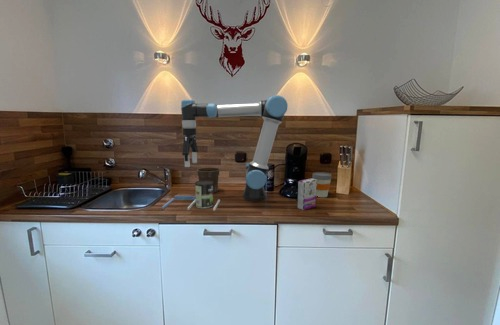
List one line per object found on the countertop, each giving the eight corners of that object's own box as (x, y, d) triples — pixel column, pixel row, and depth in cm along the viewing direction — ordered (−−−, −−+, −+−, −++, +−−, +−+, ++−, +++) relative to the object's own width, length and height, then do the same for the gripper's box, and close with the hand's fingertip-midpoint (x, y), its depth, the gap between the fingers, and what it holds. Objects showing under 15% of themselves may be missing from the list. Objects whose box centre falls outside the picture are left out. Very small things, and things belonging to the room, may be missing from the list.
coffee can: (215, 203, 143) (215, 180, 141) (209, 209, 133) (209, 185, 131) (199, 202, 145) (199, 179, 143) (192, 207, 135) (191, 183, 133)
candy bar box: (309, 204, 143) (310, 178, 141) (316, 206, 139) (317, 179, 137) (296, 208, 137) (297, 180, 134) (303, 210, 133) (304, 182, 130)
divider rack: (220, 200, 149) (220, 196, 148) (214, 210, 131) (214, 206, 130) (173, 199, 150) (173, 195, 150) (161, 209, 133) (161, 204, 132)
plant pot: (194, 190, 171) (193, 168, 169) (215, 187, 179) (215, 166, 176) (200, 196, 157) (200, 172, 155) (223, 193, 165) (223, 170, 162)
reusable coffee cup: (327, 199, 153) (329, 176, 151) (308, 196, 160) (309, 174, 157) (332, 194, 164) (333, 173, 161) (314, 191, 170) (315, 171, 168)
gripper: (189, 127, 147) (191, 161, 150) (174, 128, 122) (176, 168, 126) (201, 127, 146) (203, 161, 150) (188, 128, 122) (190, 168, 125)
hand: (191, 164), depth 138 cm, fingers open, 13 cm apart
